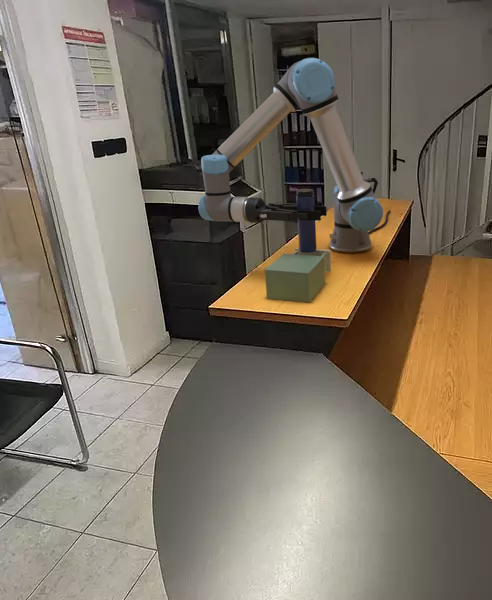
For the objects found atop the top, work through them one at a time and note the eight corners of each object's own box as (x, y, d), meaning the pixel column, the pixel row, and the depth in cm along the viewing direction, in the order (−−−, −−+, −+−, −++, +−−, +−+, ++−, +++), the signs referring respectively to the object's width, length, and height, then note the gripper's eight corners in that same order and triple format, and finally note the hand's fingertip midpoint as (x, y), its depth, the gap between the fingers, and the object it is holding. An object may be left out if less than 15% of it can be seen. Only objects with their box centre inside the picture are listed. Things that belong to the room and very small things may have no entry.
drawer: (301, 263, 159) (300, 243, 157) (334, 266, 157) (334, 246, 154) (282, 282, 143) (280, 261, 141) (318, 285, 141) (318, 263, 138)
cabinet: (285, 280, 148) (283, 253, 144) (325, 283, 145) (324, 256, 142) (266, 298, 135) (264, 269, 131) (309, 302, 132) (308, 272, 129)
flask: (302, 247, 149) (299, 188, 142) (318, 248, 148) (316, 188, 141) (296, 252, 145) (293, 191, 137) (313, 253, 143) (310, 192, 136)
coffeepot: (344, 209, 237) (344, 172, 230) (353, 206, 244) (353, 169, 237) (373, 213, 230) (373, 174, 223) (381, 209, 238) (382, 171, 231)
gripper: (262, 215, 155) (332, 218, 150) (237, 229, 139) (314, 234, 134) (260, 191, 152) (331, 194, 147) (234, 204, 136) (313, 207, 131)
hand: (323, 213), depth 141 cm, fingers closed on flask, 5 cm apart
